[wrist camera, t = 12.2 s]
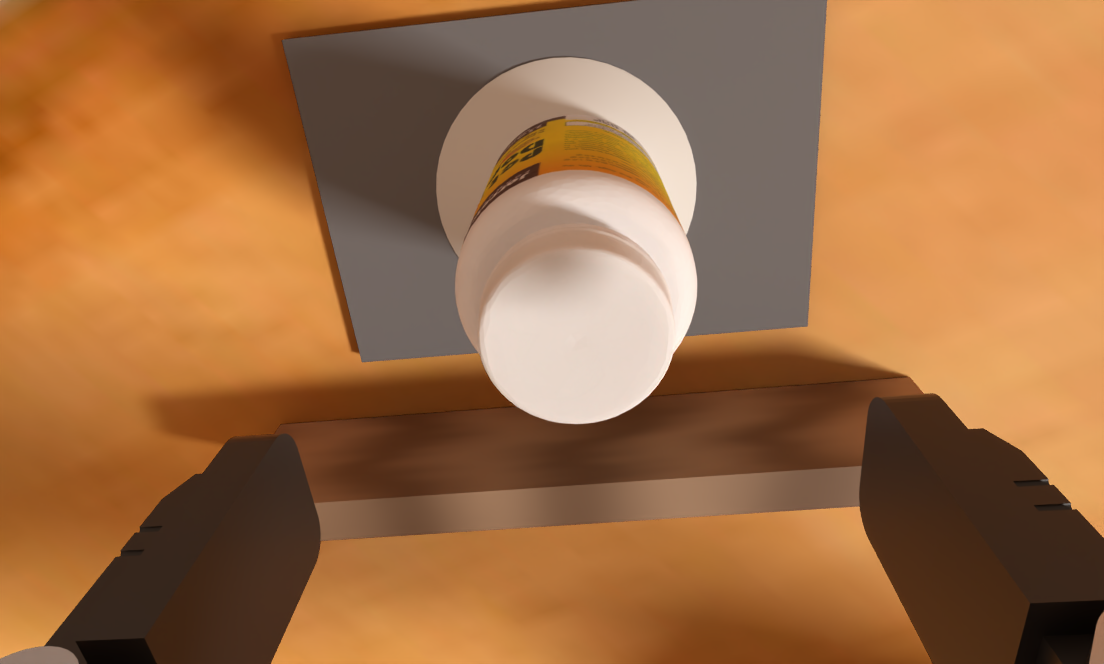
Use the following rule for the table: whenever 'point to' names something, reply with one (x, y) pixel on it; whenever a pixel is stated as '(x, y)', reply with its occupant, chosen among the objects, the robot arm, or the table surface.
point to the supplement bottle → (575, 272)
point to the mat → (555, 90)
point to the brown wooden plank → (591, 462)
